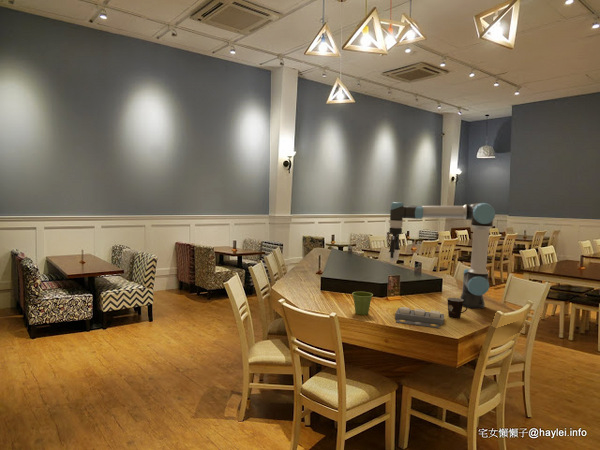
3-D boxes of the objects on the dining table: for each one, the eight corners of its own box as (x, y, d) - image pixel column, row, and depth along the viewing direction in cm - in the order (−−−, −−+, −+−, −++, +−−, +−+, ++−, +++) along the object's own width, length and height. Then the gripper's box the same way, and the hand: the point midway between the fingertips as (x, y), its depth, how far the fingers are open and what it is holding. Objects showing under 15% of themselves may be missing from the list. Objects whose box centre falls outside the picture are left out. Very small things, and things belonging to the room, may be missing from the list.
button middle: (424, 313, 239) (425, 309, 239) (424, 316, 234) (424, 312, 234) (415, 312, 241) (415, 308, 240) (414, 315, 236) (414, 310, 236)
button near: (440, 315, 236) (440, 311, 236) (439, 318, 231) (439, 313, 231) (430, 314, 238) (430, 310, 238) (429, 317, 233) (430, 312, 233)
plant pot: (355, 309, 253) (356, 290, 252) (375, 312, 247) (376, 293, 246) (347, 314, 243) (348, 294, 242) (367, 317, 237) (368, 297, 236)
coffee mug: (443, 314, 249) (444, 297, 248) (458, 314, 249) (459, 297, 249) (452, 320, 237) (453, 302, 236) (467, 320, 238) (468, 302, 237)
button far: (410, 312, 242) (410, 307, 241) (409, 314, 237) (409, 310, 237) (400, 310, 243) (401, 306, 243) (399, 313, 239) (400, 308, 238)
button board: (443, 319, 239) (444, 314, 239) (442, 325, 228) (443, 319, 227) (398, 313, 247) (398, 308, 247) (394, 318, 236) (395, 313, 236)
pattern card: (439, 325, 228) (439, 324, 228) (439, 328, 222) (439, 327, 222) (397, 319, 235) (397, 318, 235) (396, 322, 230) (396, 321, 230)
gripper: (393, 225, 278) (391, 258, 280) (385, 228, 255) (383, 263, 257) (405, 226, 275) (403, 259, 277) (398, 229, 252) (396, 265, 254)
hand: (393, 261), depth 267 cm, fingers open, 13 cm apart
